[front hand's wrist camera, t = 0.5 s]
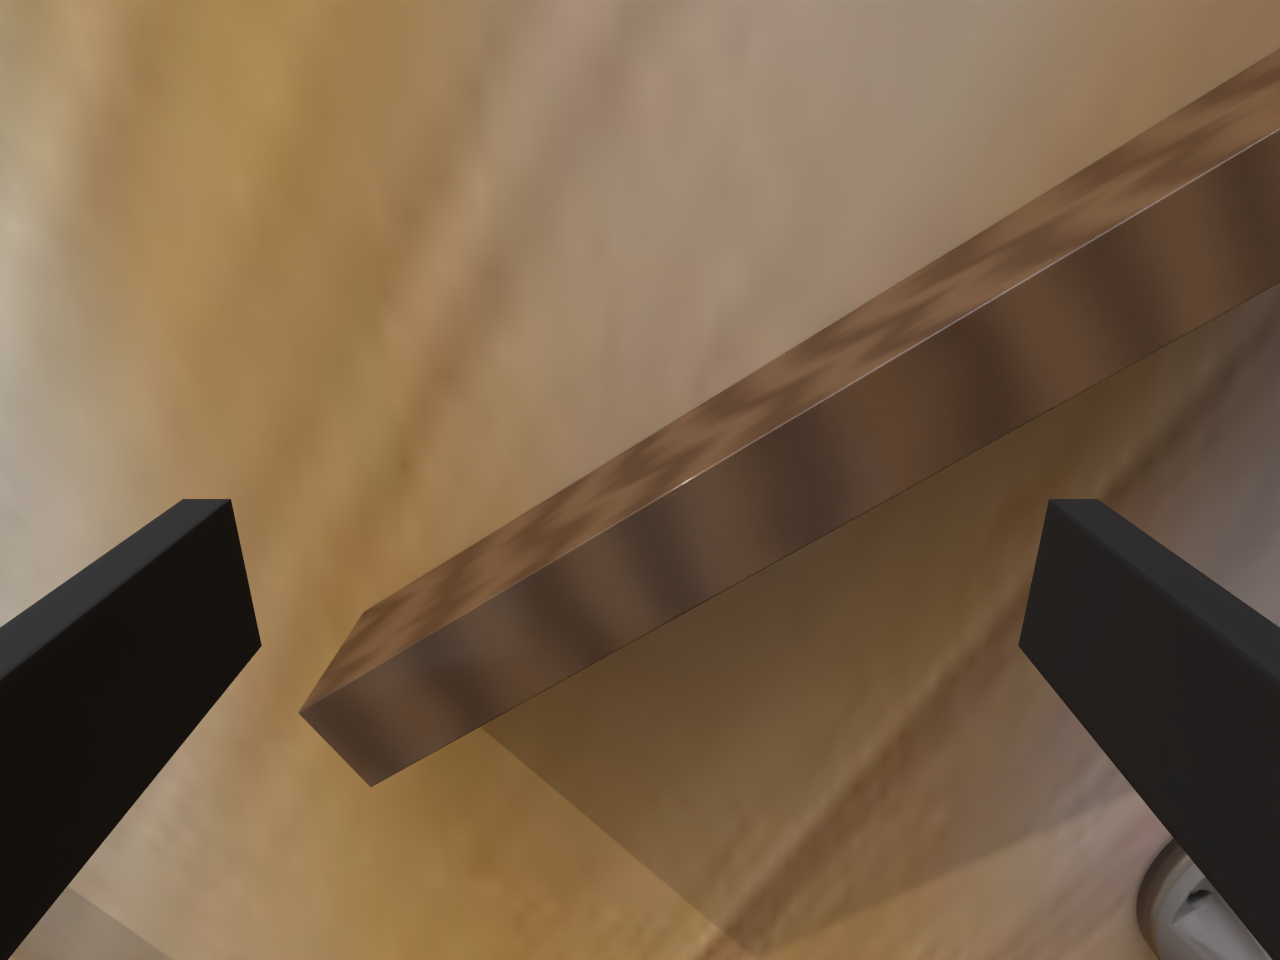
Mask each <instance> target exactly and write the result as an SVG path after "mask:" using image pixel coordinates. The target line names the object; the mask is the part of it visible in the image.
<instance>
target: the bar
mask: <svg viewBox="0 0 1280 960" xmlns="http://www.w3.org/2000/svg"><path fill="white" fill-rule="evenodd" d="M1279 282H1280V49H1278V50H1277V51H1275V52H1274V53H1272V54H1270V55H1269V56H1267V57H1265V58H1264V59H1262V60H1261V61H1259V62H1257V63H1256V64H1254V65H1252V66H1251V67H1249V68H1248V69H1246V70H1244V71H1243V72H1241V73H1239V74H1238V75H1236V76H1235V77H1233V78H1231V79H1230V80H1228V81H1226V82H1225V83H1223V84H1222V85H1220V86H1218V87H1217V88H1215V89H1213V90H1212V91H1210V92H1209V93H1207V94H1205V95H1204V96H1202V97H1200V98H1199V99H1197V100H1196V101H1194V102H1192V103H1191V104H1189V105H1187V106H1186V107H1184V108H1183V109H1181V110H1179V111H1178V112H1176V113H1174V114H1173V115H1171V116H1170V117H1168V118H1166V119H1165V120H1163V121H1161V122H1160V123H1158V124H1157V125H1155V126H1153V127H1152V128H1150V129H1148V130H1147V131H1145V132H1144V133H1142V134H1140V135H1139V136H1137V137H1135V138H1134V139H1132V140H1131V141H1129V142H1127V143H1126V144H1124V145H1122V146H1121V147H1119V148H1118V149H1116V150H1114V151H1113V152H1111V153H1109V154H1108V155H1106V156H1105V157H1103V158H1101V159H1100V160H1098V161H1096V162H1095V163H1093V164H1092V165H1090V166H1088V167H1087V168H1085V169H1083V170H1082V171H1080V172H1079V173H1077V174H1075V175H1074V176H1072V177H1070V178H1069V179H1067V180H1066V181H1064V182H1062V183H1061V184H1059V185H1057V186H1056V187H1054V188H1053V189H1051V190H1049V191H1048V192H1046V193H1044V194H1043V195H1041V196H1040V197H1038V198H1036V199H1035V200H1033V201H1031V202H1030V203H1028V204H1027V205H1025V206H1023V207H1022V208H1020V209H1018V210H1017V211H1015V212H1014V213H1012V214H1010V215H1009V216H1007V217H1005V218H1004V219H1002V220H1001V221H999V222H997V223H996V224H994V225H992V226H991V227H989V228H988V229H986V230H984V231H983V232H981V233H979V234H978V235H976V236H975V237H973V238H971V239H970V240H968V241H966V242H965V243H963V244H962V245H960V246H958V247H957V248H955V249H953V250H952V251H950V252H949V253H947V254H945V255H944V256H942V257H940V258H939V259H937V260H936V261H934V262H932V263H931V264H929V265H927V266H926V267H924V268H923V269H921V270H919V271H918V272H916V273H914V274H913V275H911V276H910V277H908V278H906V279H905V280H903V281H901V282H900V283H898V284H897V285H895V286H893V287H892V288H890V289H888V290H887V291H885V292H884V293H882V294H880V295H879V296H877V297H875V298H874V299H872V300H871V301H869V302H867V303H866V304H864V305H862V306H861V307H859V308H858V309H856V310H854V311H853V312H851V313H849V314H848V315H846V316H845V317H843V318H841V319H840V320H838V321H836V322H835V323H833V324H832V325H830V326H828V327H827V328H825V329H823V330H822V331H820V332H819V333H817V334H815V335H814V336H812V337H810V338H809V339H807V340H806V341H804V342H802V343H801V344H799V345H797V346H796V347H794V348H793V349H791V350H789V351H788V352H786V353H784V354H783V355H781V356H780V357H778V358H776V359H775V360H773V361H771V362H770V363H768V364H767V365H765V366H763V367H762V368H760V369H758V370H757V371H755V372H754V373H752V374H750V375H749V376H747V377H745V378H744V379H742V380H741V381H739V382H737V383H736V384H734V385H732V386H731V387H729V388H728V389H726V390H724V391H723V392H721V393H719V394H718V395H716V396H715V397H713V398H711V399H710V400H708V401H706V402H705V403H703V404H702V405H700V406H698V407H697V408H695V409H693V410H692V411H690V412H689V413H687V414H685V415H684V416H682V417H680V418H679V419H677V420H676V421H674V422H672V423H671V424H669V425H667V426H666V427H664V428H663V429H661V430H659V431H658V432H656V433H654V434H653V435H651V436H650V437H648V438H646V439H645V440H643V441H641V442H640V443H638V444H637V445H635V446H633V447H632V448H630V449H628V450H627V451H625V452H624V453H622V454H620V455H619V456H617V457H615V458H614V459H612V460H611V461H609V462H607V463H606V464H604V465H602V466H601V467H599V468H598V469H596V470H594V471H593V472H591V473H589V474H588V475H586V476H585V477H583V478H581V479H580V480H578V481H576V482H575V483H573V484H572V485H570V486H568V487H567V488H565V489H563V490H562V491H560V492H559V493H557V494H555V495H554V496H552V497H550V498H549V499H547V500H546V501H544V502H542V503H541V504H539V505H537V506H536V507H534V508H533V509H531V510H529V511H528V512H526V513H524V514H523V515H521V516H520V517H518V518H516V519H515V520H513V521H511V522H510V523H508V524H507V525H505V526H503V527H502V528H500V529H498V530H497V531H495V532H494V533H492V534H490V535H489V536H487V537H485V538H484V539H482V540H481V541H479V542H477V543H476V544H474V545H472V546H471V547H469V548H468V549H466V550H464V551H463V552H461V553H459V554H458V555H456V556H455V557H453V558H451V559H450V560H448V561H446V562H445V563H443V564H442V565H440V566H438V567H437V568H435V569H433V570H432V571H430V572H429V573H427V574H425V575H424V576H422V577H420V578H419V579H417V580H416V581H414V582H412V583H411V584H409V585H407V586H406V587H404V588H403V589H401V590H399V591H398V592H396V593H394V594H393V595H391V596H390V597H388V598H386V599H385V600H383V601H381V602H380V603H378V604H377V605H375V606H373V607H372V608H370V609H368V610H367V611H365V612H364V613H363V614H362V616H361V617H360V619H359V620H358V622H357V623H356V625H355V626H354V628H353V629H352V631H351V633H350V634H349V636H348V637H347V639H346V640H345V642H344V643H343V645H342V646H341V648H340V649H339V651H338V652H337V654H336V655H335V657H334V659H333V660H332V662H331V663H330V665H329V666H328V668H327V669H326V671H325V672H324V674H323V675H322V677H321V678H320V680H319V681H318V683H317V684H316V686H315V688H314V689H313V691H312V692H311V694H310V695H309V697H308V698H307V700H306V701H305V703H304V704H303V706H302V707H301V709H300V710H299V714H300V715H301V716H302V717H303V718H304V719H305V720H306V721H307V722H308V723H309V724H310V725H311V726H312V727H313V728H314V729H315V730H316V731H317V732H318V733H319V735H320V736H321V737H322V738H323V739H324V740H325V741H326V742H327V743H328V744H329V745H330V746H331V747H332V748H333V749H334V750H335V751H336V752H337V753H338V754H339V755H340V756H341V757H342V758H343V759H344V760H345V761H346V762H347V763H348V764H349V765H350V766H351V767H352V768H353V769H354V770H355V771H356V773H357V774H358V775H359V776H360V777H361V778H362V779H363V780H364V781H365V782H366V783H367V784H368V785H369V786H370V787H372V786H374V785H376V784H378V783H379V782H381V781H383V780H385V779H387V778H388V777H390V776H392V775H394V774H396V773H397V772H399V771H401V770H403V769H405V768H406V767H408V766H410V765H412V764H414V763H415V762H417V761H419V760H421V759H423V758H424V757H426V756H428V755H430V754H432V753H433V752H435V751H437V750H439V749H441V748H442V747H444V746H446V745H448V744H450V743H451V742H453V741H455V740H457V739H459V738H460V737H462V736H464V735H466V734H468V733H469V732H471V731H473V730H475V729H477V728H478V727H480V726H482V725H484V724H486V723H487V722H489V721H491V720H493V719H495V718H496V717H498V716H500V715H502V714H504V713H505V712H507V711H509V710H511V709H513V708H514V707H516V706H518V705H520V704H522V703H523V702H525V701H527V700H529V699H531V698H532V697H534V696H536V695H538V694H540V693H541V692H543V691H545V690H547V689H549V688H550V687H552V686H554V685H556V684H558V683H559V682H561V681H563V680H565V679H567V678H568V677H570V676H572V675H574V674H576V673H577V672H579V671H581V670H583V669H585V668H586V667H588V666H590V665H592V664H594V663H595V662H597V661H599V660H601V659H603V658H604V657H606V656H608V655H610V654H612V653H613V652H615V651H617V650H619V649H621V648H622V647H624V646H626V645H628V644H630V643H631V642H633V641H635V640H637V639H639V638H640V637H642V636H644V635H646V634H648V633H649V632H651V631H653V630H655V629H657V628H658V627H660V626H662V625H664V624H666V623H667V622H669V621H671V620H673V619H675V618H676V617H678V616H680V615H682V614H684V613H685V612H687V611H689V610H691V609H693V608H694V607H696V606H698V605H700V604H702V603H703V602H705V601H707V600H709V599H711V598H712V597H714V596H716V595H718V594H720V593H721V592H723V591H725V590H727V589H729V588H730V587H732V586H734V585H736V584H738V583H739V582H741V581H743V580H745V579H747V578H748V577H750V576H752V575H754V574H756V573H757V572H759V571H761V570H763V569H765V568H766V567H768V566H770V565H772V564H774V563H775V562H777V561H779V560H781V559H783V558H784V557H786V556H788V555H790V554H792V553H793V552H795V551H797V550H799V549H801V548H802V547H804V546H806V545H808V544H810V543H811V542H813V541H815V540H817V539H819V538H820V537H822V536H824V535H826V534H828V533H829V532H831V531H833V530H835V529H837V528H838V527H840V526H842V525H844V524H846V523H847V522H849V521H851V520H853V519H855V518H856V517H858V516H860V515H862V514H864V513H865V512H867V511H869V510H871V509H873V508H874V507H876V506H878V505H880V504H882V503H883V502H885V501H887V500H889V499H891V498H892V497H894V496H896V495H898V494H900V493H901V492H903V491H905V490H907V489H909V488H910V487H912V486H914V485H916V484H918V483H919V482H921V481H923V480H925V479H927V478H928V477H930V476H932V475H934V474H936V473H937V472H939V471H941V470H943V469H945V468H946V467H948V466H950V465H952V464H954V463H955V462H957V461H959V460H961V459H963V458H964V457H966V456H968V455H970V454H972V453H973V452H975V451H977V450H979V449H981V448H982V447H984V446H986V445H988V444H990V443H991V442H993V441H995V440H997V439H999V438H1000V437H1002V436H1004V435H1006V434H1008V433H1009V432H1011V431H1013V430H1015V429H1017V428H1018V427H1020V426H1022V425H1024V424H1026V423H1027V422H1029V421H1031V420H1033V419H1035V418H1036V417H1038V416H1040V415H1042V414H1044V413H1045V412H1047V411H1049V410H1051V409H1053V408H1054V407H1056V406H1058V405H1060V404H1062V403H1063V402H1065V401H1067V400H1069V399H1071V398H1072V397H1074V396H1076V395H1078V394H1080V393H1081V392H1083V391H1085V390H1087V389H1089V388H1090V387H1092V386H1094V385H1096V384H1098V383H1099V382H1101V381H1103V380H1105V379H1107V378H1108V377H1110V376H1112V375H1114V374H1116V373H1117V372H1119V371H1121V370H1123V369H1125V368H1126V367H1128V366H1130V365H1132V364H1134V363H1135V362H1137V361H1139V360H1141V359H1143V358H1144V357H1146V356H1148V355H1150V354H1152V353H1153V352H1155V351H1157V350H1159V349H1161V348H1162V347H1164V346H1166V345H1168V344H1170V343H1171V342H1173V341H1175V340H1177V339H1179V338H1180V337H1182V336H1184V335H1186V334H1188V333H1189V332H1191V331H1193V330H1195V329H1197V328H1198V327H1200V326H1202V325H1204V324H1206V323H1207V322H1209V321H1211V320H1213V319H1215V318H1216V317H1218V316H1220V315H1222V314H1224V313H1225V312H1227V311H1229V310H1231V309H1233V308H1234V307H1236V306H1238V305H1240V304H1242V303H1243V302H1245V301H1247V300H1249V299H1251V298H1252V297H1254V296H1256V295H1258V294H1260V293H1261V292H1263V291H1265V290H1267V289H1269V288H1270V287H1272V286H1274V285H1276V284H1278V283H1279Z"/></svg>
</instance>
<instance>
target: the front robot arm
mask: <svg viewBox="0 0 1280 960" xmlns="http://www.w3.org/2000/svg"><path fill="white" fill-rule="evenodd" d="M260 647H261V641H260V636H259V631H258V627H257V622H256V617H255V612H254V607H253V603H252V598H251V593H250V588H249V584H248V579H247V574H246V569H245V565H244V560H243V555H242V550H241V545H240V541H239V536H238V531H237V526H236V522H235V517H234V512H233V507H232V503H231V499H183V500H181V501H180V502H178V503H177V504H175V505H174V506H173V507H171V508H170V509H168V510H167V511H166V512H164V513H163V514H161V515H160V516H158V517H157V518H156V519H154V520H153V521H151V522H150V523H148V524H147V525H146V526H144V527H143V528H141V529H140V530H139V531H137V532H136V533H134V534H133V535H131V536H130V537H129V538H127V539H126V540H124V541H123V542H121V543H120V544H119V545H117V546H116V547H114V548H113V549H112V550H110V551H109V552H107V553H106V554H104V555H103V556H102V557H100V558H99V559H97V560H96V561H94V562H93V563H92V564H90V565H89V566H87V567H86V568H84V569H83V570H82V571H80V572H79V573H77V574H76V575H75V576H73V577H72V578H70V579H69V580H67V581H66V582H65V583H63V584H62V585H60V586H59V587H57V588H56V589H55V590H53V591H52V592H50V593H49V594H48V595H46V596H45V597H43V598H42V599H40V600H39V601H38V602H36V603H35V604H33V605H32V606H30V607H29V608H28V609H26V610H25V611H23V612H22V613H21V614H19V615H18V616H16V617H15V618H13V619H12V620H11V621H9V622H8V623H6V624H5V625H3V626H2V627H1V628H0V960H8V959H9V957H10V956H11V955H12V954H13V953H14V951H15V950H16V949H17V948H18V946H19V945H20V944H21V943H22V941H23V940H24V939H25V938H26V936H27V935H28V934H29V933H30V931H31V930H32V929H33V928H34V927H35V925H36V924H37V923H38V922H39V920H40V919H41V918H42V917H43V915H44V914H45V913H46V912H47V910H48V909H49V908H50V907H51V906H52V904H53V903H54V902H55V901H56V899H57V898H58V897H59V896H60V894H61V893H62V892H63V891H64V889H65V888H66V887H67V886H68V884H69V883H70V882H71V881H72V880H73V878H74V877H75V876H76V875H77V873H78V872H79V871H80V870H81V868H82V867H83V866H84V865H85V863H86V862H87V861H88V860H89V859H90V857H91V856H92V855H93V854H94V852H95V851H96V850H97V849H98V847H99V846H100V845H101V844H102V842H103V841H104V840H105V839H106V838H107V836H108V835H109V834H110V833H111V831H112V830H113V829H114V828H115V826H116V825H117V824H118V823H119V821H120V820H121V819H122V818H123V816H124V815H125V814H126V813H127V812H128V810H129V809H130V808H131V807H132V805H133V804H134V803H135V802H136V800H137V799H138V798H139V797H140V795H141V794H142V793H143V792H144V791H145V789H146V788H147V787H148V786H149V784H150V783H151V782H152V781H153V779H154V778H155V777H156V776H157V774H158V773H159V772H160V771H161V769H162V768H163V767H164V766H165V765H166V763H167V762H168V761H169V760H170V758H171V757H172V756H173V755H174V753H175V752H176V751H177V750H178V748H179V747H180V746H181V745H182V744H183V742H184V741H185V740H186V739H187V737H188V736H189V735H190V734H191V732H192V731H193V730H194V729H195V727H196V726H197V725H198V724H199V723H200V721H201V720H202V719H203V718H204V716H205V715H206V714H207V713H208V711H209V710H210V709H211V708H212V706H213V705H214V704H215V703H216V701H217V700H218V699H219V698H220V697H221V695H222V694H223V693H224V692H225V690H226V689H227V688H228V687H229V685H230V684H231V683H232V682H233V680H234V679H235V678H236V677H237V676H238V674H239V673H240V672H241V671H242V669H243V668H244V667H245V666H246V664H247V663H248V662H249V661H250V659H251V658H252V657H253V656H254V654H255V653H256V652H257V651H258V650H259V648H260ZM1019 647H1020V648H1021V650H1022V651H1023V652H1024V653H1025V655H1026V656H1027V657H1028V658H1029V659H1030V661H1031V662H1032V663H1033V664H1034V666H1035V667H1036V668H1037V669H1038V671H1039V672H1040V673H1041V674H1042V676H1043V677H1044V678H1045V679H1046V680H1047V682H1048V683H1049V684H1050V685H1051V687H1052V688H1053V689H1054V690H1055V692H1056V693H1057V694H1058V695H1059V697H1060V698H1061V699H1062V700H1063V701H1064V703H1065V704H1066V705H1067V706H1068V708H1069V709H1070V710H1071V711H1072V713H1073V714H1074V715H1075V716H1076V718H1077V719H1078V720H1079V721H1080V723H1081V724H1082V725H1083V726H1084V727H1085V729H1086V730H1087V731H1088V732H1089V734H1090V735H1091V736H1092V737H1093V739H1094V740H1095V741H1096V742H1097V744H1098V745H1099V746H1100V747H1101V748H1102V750H1103V751H1104V752H1105V753H1106V755H1107V756H1108V757H1109V758H1110V760H1111V761H1112V762H1113V763H1114V765H1115V766H1116V767H1117V768H1118V770H1119V771H1120V772H1121V773H1122V774H1123V776H1124V777H1125V778H1126V779H1127V781H1128V782H1129V783H1130V784H1131V786H1132V787H1133V788H1134V789H1135V791H1136V792H1137V793H1138V794H1139V795H1140V797H1141V798H1142V799H1143V800H1144V802H1145V803H1146V804H1147V805H1148V807H1149V808H1150V809H1151V810H1152V812H1153V813H1154V814H1155V815H1156V816H1157V818H1158V819H1159V820H1160V821H1161V823H1162V824H1163V825H1164V826H1165V828H1166V829H1167V830H1168V831H1169V833H1170V834H1171V835H1172V836H1173V838H1174V839H1173V840H1172V841H1171V842H1170V843H1169V844H1168V845H1167V846H1166V847H1165V848H1164V849H1163V850H1162V851H1161V853H1160V854H1159V855H1158V856H1157V857H1156V859H1155V860H1154V862H1153V863H1152V865H1151V866H1150V868H1149V870H1148V871H1147V873H1146V875H1145V877H1144V879H1143V882H1142V884H1141V887H1140V891H1139V894H1138V901H1137V918H1138V923H1139V927H1140V930H1141V932H1142V934H1143V936H1144V938H1145V940H1146V941H1147V943H1148V944H1149V946H1150V947H1151V949H1152V950H1153V952H1154V954H1155V955H1156V957H1157V958H1158V960H1280V628H1279V627H1278V626H1277V625H1275V624H1274V623H1272V622H1271V621H1269V620H1268V619H1267V618H1265V617H1264V616H1262V615H1261V614H1259V613H1258V612H1257V611H1255V610H1254V609H1252V608H1251V607H1250V606H1248V605H1247V604H1245V603H1244V602H1242V601H1241V600H1240V599H1238V598H1237V597H1235V596H1234V595H1232V594H1231V593H1230V592H1228V591H1227V590H1225V589H1224V588H1223V587H1221V586H1220V585H1218V584H1217V583H1215V582H1214V581H1213V580H1211V579H1210V578H1208V577H1207V576H1205V575H1204V574H1203V573H1201V572H1200V571H1198V570H1197V569H1196V568H1194V567H1193V566H1191V565H1190V564H1188V563H1187V562H1186V561H1184V560H1183V559H1181V558H1180V557H1178V556H1177V555H1176V554H1174V553H1173V552H1171V551H1170V550H1168V549H1167V548H1166V547H1164V546H1163V545H1161V544H1160V543H1159V542H1157V541H1156V540H1154V539H1153V538H1151V537H1150V536H1149V535H1147V534H1146V533H1144V532H1143V531H1141V530H1140V529H1139V528H1137V527H1136V526H1134V525H1133V524H1132V523H1130V522H1129V521H1127V520H1126V519H1124V518H1123V517H1122V516H1120V515H1119V514H1117V513H1116V512H1114V511H1113V510H1112V509H1110V508H1109V507H1107V506H1106V505H1105V504H1103V503H1102V502H1100V501H1099V500H1097V499H1049V502H1048V507H1047V512H1046V517H1045V522H1044V526H1043V531H1042V536H1041V541H1040V545H1039V550H1038V555H1037V560H1036V564H1035V569H1034V574H1033V579H1032V584H1031V588H1030V593H1029V598H1028V603H1027V607H1026V612H1025V617H1024V622H1023V626H1022V631H1021V636H1020V641H1019Z"/></svg>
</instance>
